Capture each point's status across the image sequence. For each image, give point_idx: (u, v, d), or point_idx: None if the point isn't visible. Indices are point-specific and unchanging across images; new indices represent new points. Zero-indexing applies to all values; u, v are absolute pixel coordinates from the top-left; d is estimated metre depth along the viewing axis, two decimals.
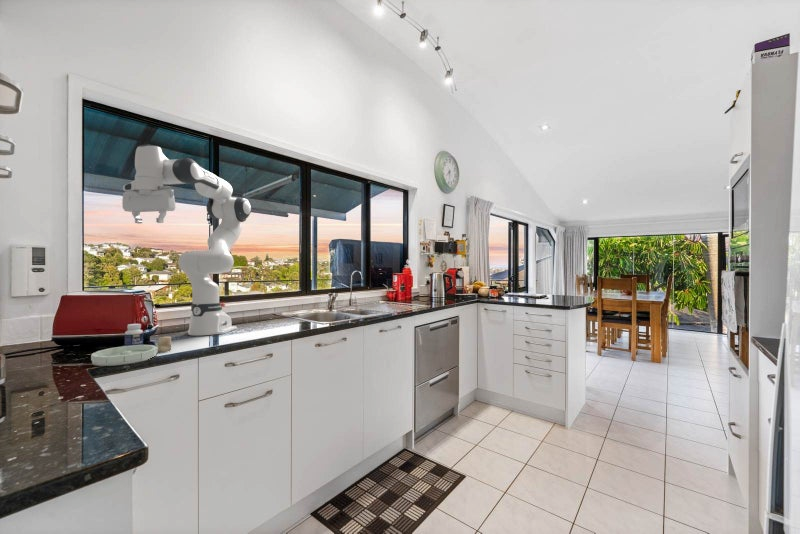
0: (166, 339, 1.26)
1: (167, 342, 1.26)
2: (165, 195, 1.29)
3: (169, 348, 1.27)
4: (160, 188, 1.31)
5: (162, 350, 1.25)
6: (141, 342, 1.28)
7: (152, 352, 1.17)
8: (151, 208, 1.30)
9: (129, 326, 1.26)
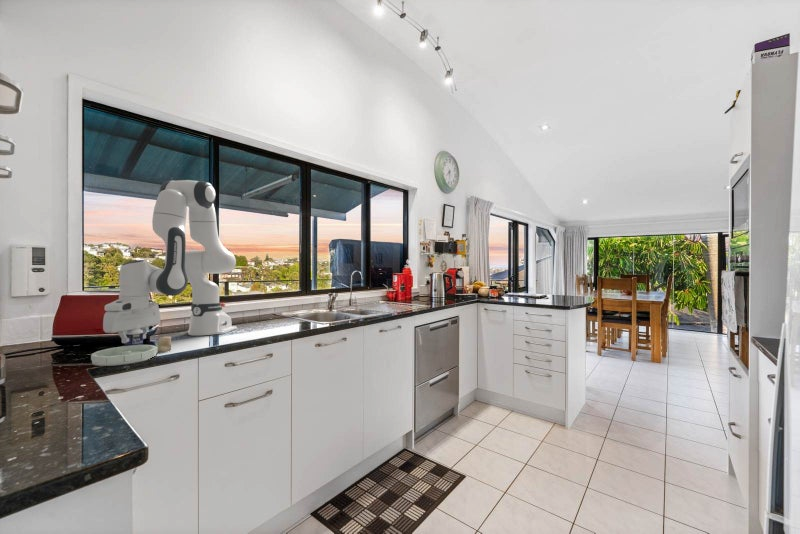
0: (166, 339, 1.26)
1: (167, 342, 1.26)
2: (158, 311, 1.36)
3: (169, 348, 1.27)
4: None
5: (162, 350, 1.25)
6: (141, 342, 1.28)
7: (152, 352, 1.17)
8: (144, 325, 1.31)
9: None
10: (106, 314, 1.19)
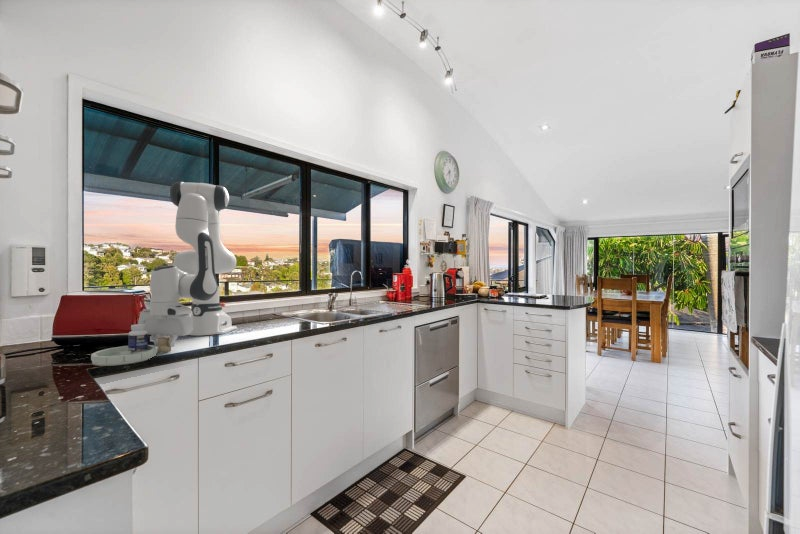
0: (166, 339, 1.26)
1: (167, 342, 1.26)
2: None
3: (169, 348, 1.27)
4: None
5: (162, 350, 1.25)
6: (146, 343, 1.21)
7: (152, 352, 1.17)
8: None
9: (133, 327, 1.19)
10: (183, 318, 1.25)
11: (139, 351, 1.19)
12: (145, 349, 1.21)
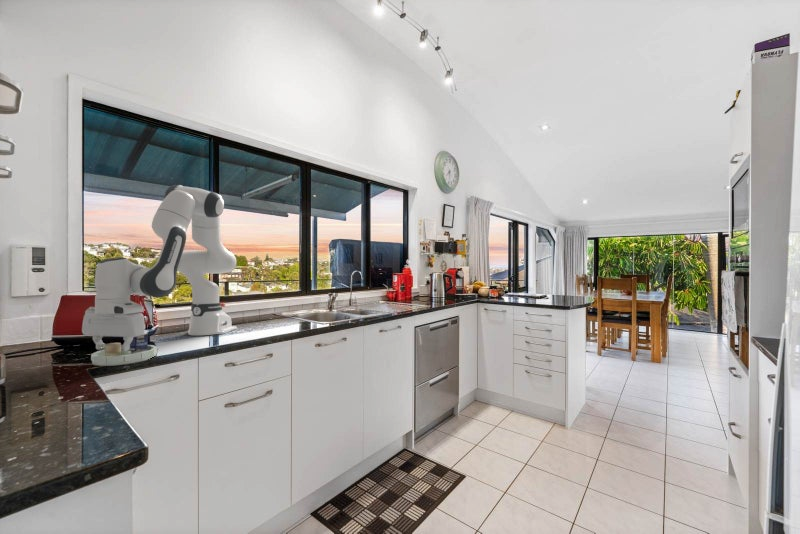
0: (114, 345, 1.11)
1: (116, 349, 1.11)
2: None
3: None
4: None
5: None
6: (146, 343, 1.21)
7: (152, 352, 1.17)
8: None
9: None
10: (133, 317, 1.09)
11: (139, 351, 1.19)
12: (145, 349, 1.21)
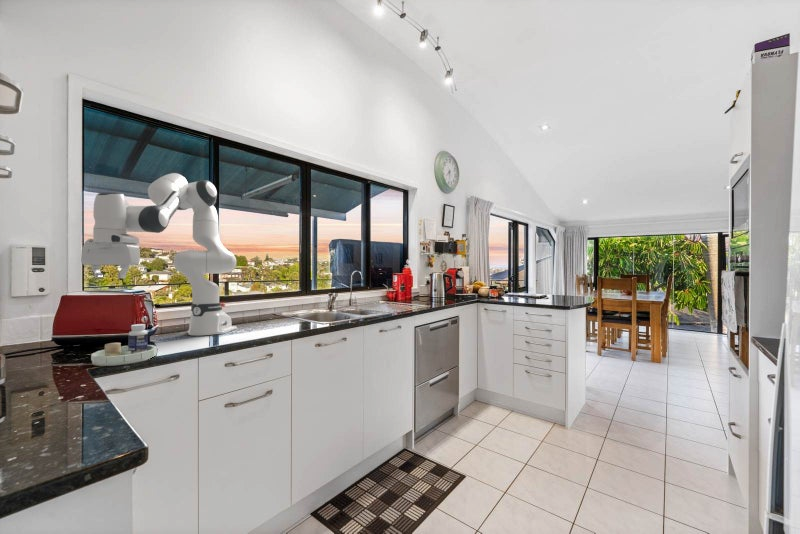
0: (114, 345, 1.11)
1: (116, 349, 1.11)
2: None
3: None
4: None
5: None
6: (146, 343, 1.21)
7: (152, 352, 1.17)
8: None
9: (133, 327, 1.19)
10: (129, 246, 1.17)
11: (139, 351, 1.19)
12: (145, 349, 1.21)
